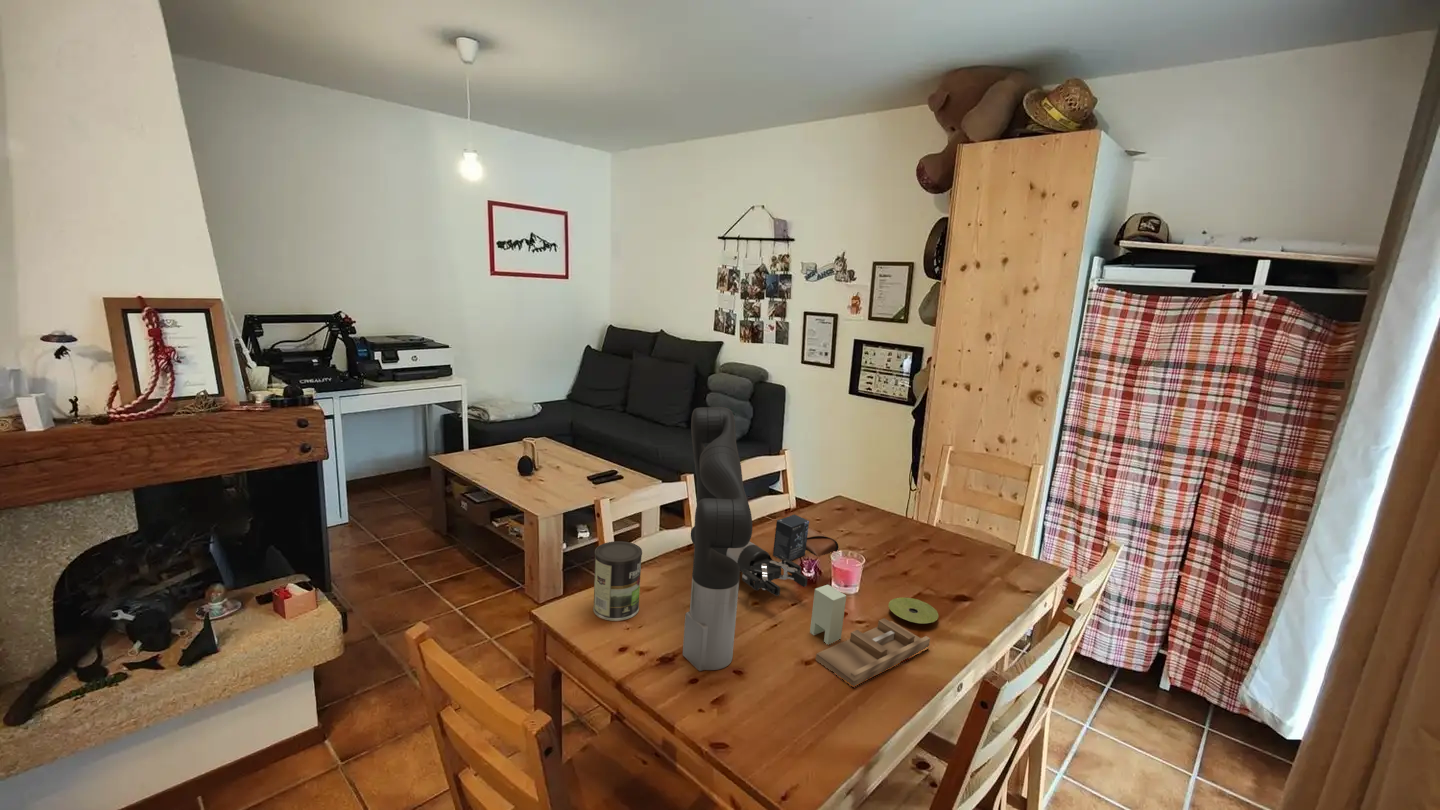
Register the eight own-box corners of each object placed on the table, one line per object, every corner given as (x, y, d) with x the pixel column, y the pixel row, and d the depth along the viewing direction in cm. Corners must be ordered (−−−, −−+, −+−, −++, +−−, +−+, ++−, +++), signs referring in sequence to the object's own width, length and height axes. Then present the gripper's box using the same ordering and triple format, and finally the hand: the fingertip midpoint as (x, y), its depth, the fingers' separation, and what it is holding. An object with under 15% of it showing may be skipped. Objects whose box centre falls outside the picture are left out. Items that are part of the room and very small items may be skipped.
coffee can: (645, 601, 141) (648, 544, 138) (630, 625, 131) (632, 564, 129) (603, 593, 143) (605, 537, 140) (585, 616, 133) (587, 557, 130)
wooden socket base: (853, 688, 116) (855, 671, 116) (815, 660, 124) (817, 644, 123) (928, 649, 131) (930, 635, 130) (890, 626, 138) (892, 612, 138)
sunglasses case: (774, 533, 184) (784, 513, 185) (787, 540, 188) (796, 520, 189) (819, 557, 170) (829, 535, 171) (831, 564, 175) (841, 543, 176)
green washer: (877, 607, 146) (878, 600, 146) (916, 601, 150) (917, 594, 150) (907, 633, 136) (908, 626, 136) (947, 627, 140) (949, 619, 140)
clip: (827, 645, 130) (833, 600, 127) (809, 632, 134) (814, 588, 131) (840, 639, 132) (846, 595, 130) (822, 627, 136) (827, 584, 134)
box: (787, 563, 166) (791, 526, 163) (772, 555, 170) (775, 519, 167) (805, 555, 171) (809, 520, 169) (790, 548, 175) (794, 513, 173)
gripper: (726, 550, 148) (771, 579, 135) (771, 538, 156) (816, 565, 144) (724, 578, 149) (767, 610, 137) (768, 565, 158) (813, 594, 145)
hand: (792, 587), depth 140 cm, fingers open, 8 cm apart
